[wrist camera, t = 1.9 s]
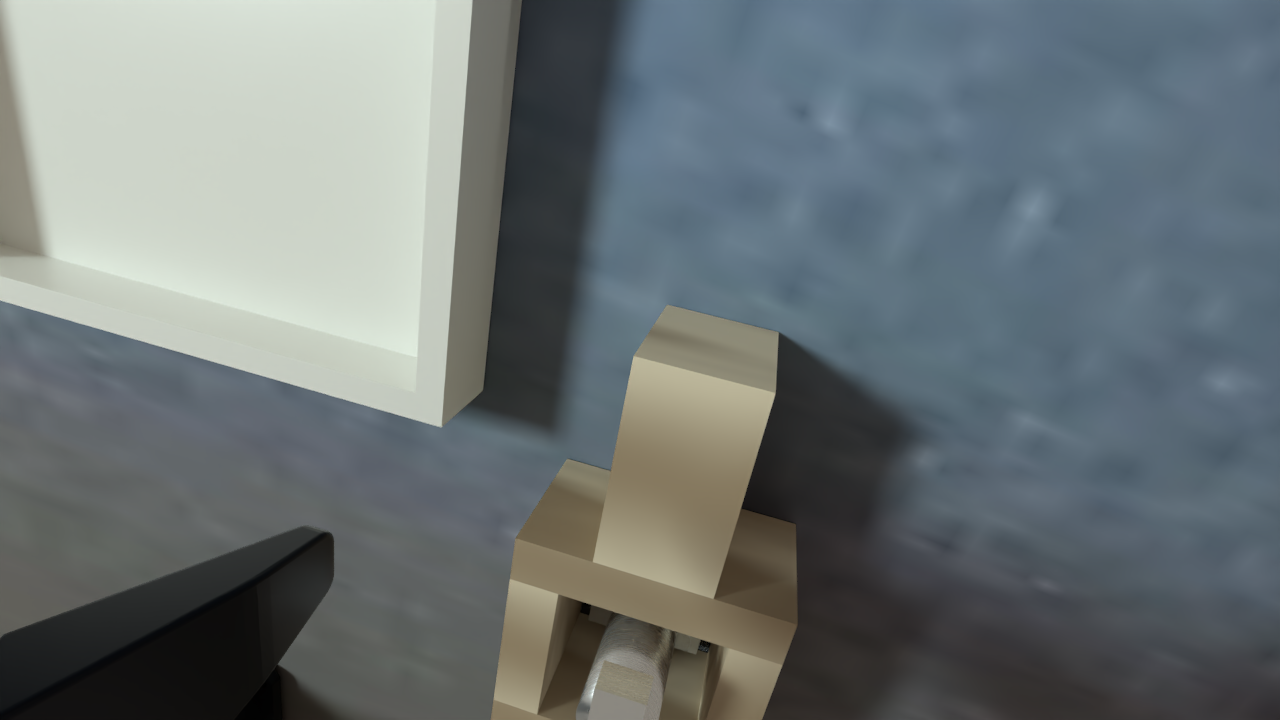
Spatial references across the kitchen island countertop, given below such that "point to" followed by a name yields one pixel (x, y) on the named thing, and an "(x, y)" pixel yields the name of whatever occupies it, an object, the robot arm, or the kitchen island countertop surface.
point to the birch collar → (662, 537)
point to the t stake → (629, 668)
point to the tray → (265, 183)
